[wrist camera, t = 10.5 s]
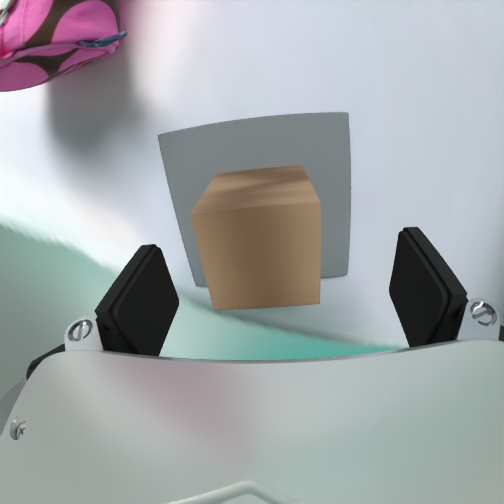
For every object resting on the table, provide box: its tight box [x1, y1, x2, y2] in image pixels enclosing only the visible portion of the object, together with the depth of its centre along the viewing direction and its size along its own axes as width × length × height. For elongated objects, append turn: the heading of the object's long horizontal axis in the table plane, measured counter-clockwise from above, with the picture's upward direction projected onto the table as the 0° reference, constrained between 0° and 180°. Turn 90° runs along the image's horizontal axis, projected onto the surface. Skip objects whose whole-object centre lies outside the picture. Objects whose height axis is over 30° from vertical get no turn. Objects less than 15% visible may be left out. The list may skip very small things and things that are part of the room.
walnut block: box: [190, 165, 321, 310], centre depth 14 cm, size 5×5×6 cm
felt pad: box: [158, 112, 351, 286], centre depth 17 cm, size 11×11×1 cm
